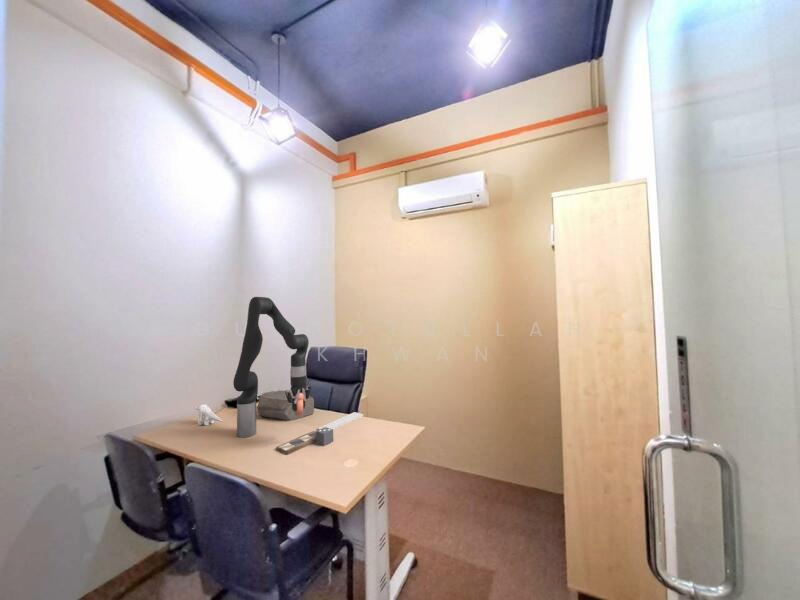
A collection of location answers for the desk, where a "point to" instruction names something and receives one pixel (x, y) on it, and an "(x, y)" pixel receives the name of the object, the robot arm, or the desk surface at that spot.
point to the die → (324, 436)
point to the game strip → (297, 443)
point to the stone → (281, 406)
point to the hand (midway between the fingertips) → (298, 409)
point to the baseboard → (342, 421)
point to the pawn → (299, 404)
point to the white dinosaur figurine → (206, 415)
